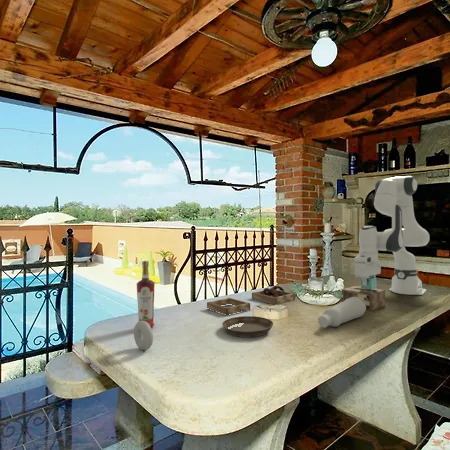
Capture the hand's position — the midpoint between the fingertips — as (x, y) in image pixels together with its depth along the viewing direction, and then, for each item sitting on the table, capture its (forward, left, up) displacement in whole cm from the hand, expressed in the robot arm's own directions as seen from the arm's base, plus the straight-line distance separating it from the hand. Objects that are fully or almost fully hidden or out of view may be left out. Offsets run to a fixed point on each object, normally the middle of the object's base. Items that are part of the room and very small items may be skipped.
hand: (368, 284), depth 165 cm
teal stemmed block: (0, 0, -8) cm, 8 cm away
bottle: (+35, +5, -11) cm, 37 cm away
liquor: (+102, -44, -11) cm, 112 cm away
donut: (+113, -23, -11) cm, 116 cm away
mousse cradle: (+58, -43, -11) cm, 73 cm away
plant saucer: (+72, -14, -12) cm, 74 cm away
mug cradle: (+25, -43, -11) cm, 51 cm away
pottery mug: (+23, -44, -11) cm, 51 cm away
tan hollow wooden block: (0, -3, -11) cm, 11 cm away
